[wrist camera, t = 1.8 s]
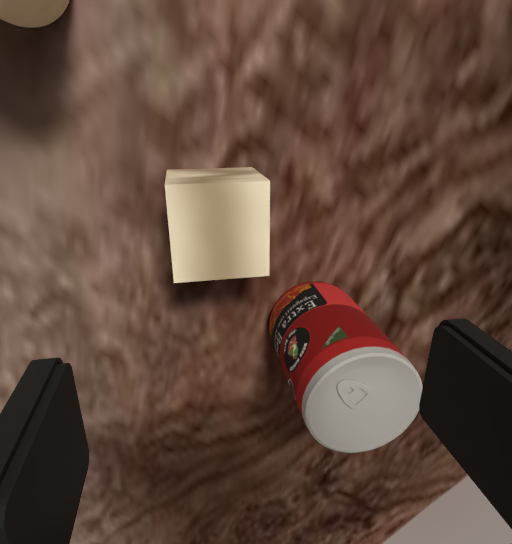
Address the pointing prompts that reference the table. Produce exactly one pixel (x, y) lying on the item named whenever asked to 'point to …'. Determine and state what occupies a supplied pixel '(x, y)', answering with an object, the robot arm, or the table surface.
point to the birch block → (218, 223)
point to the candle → (31, 12)
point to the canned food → (342, 369)
